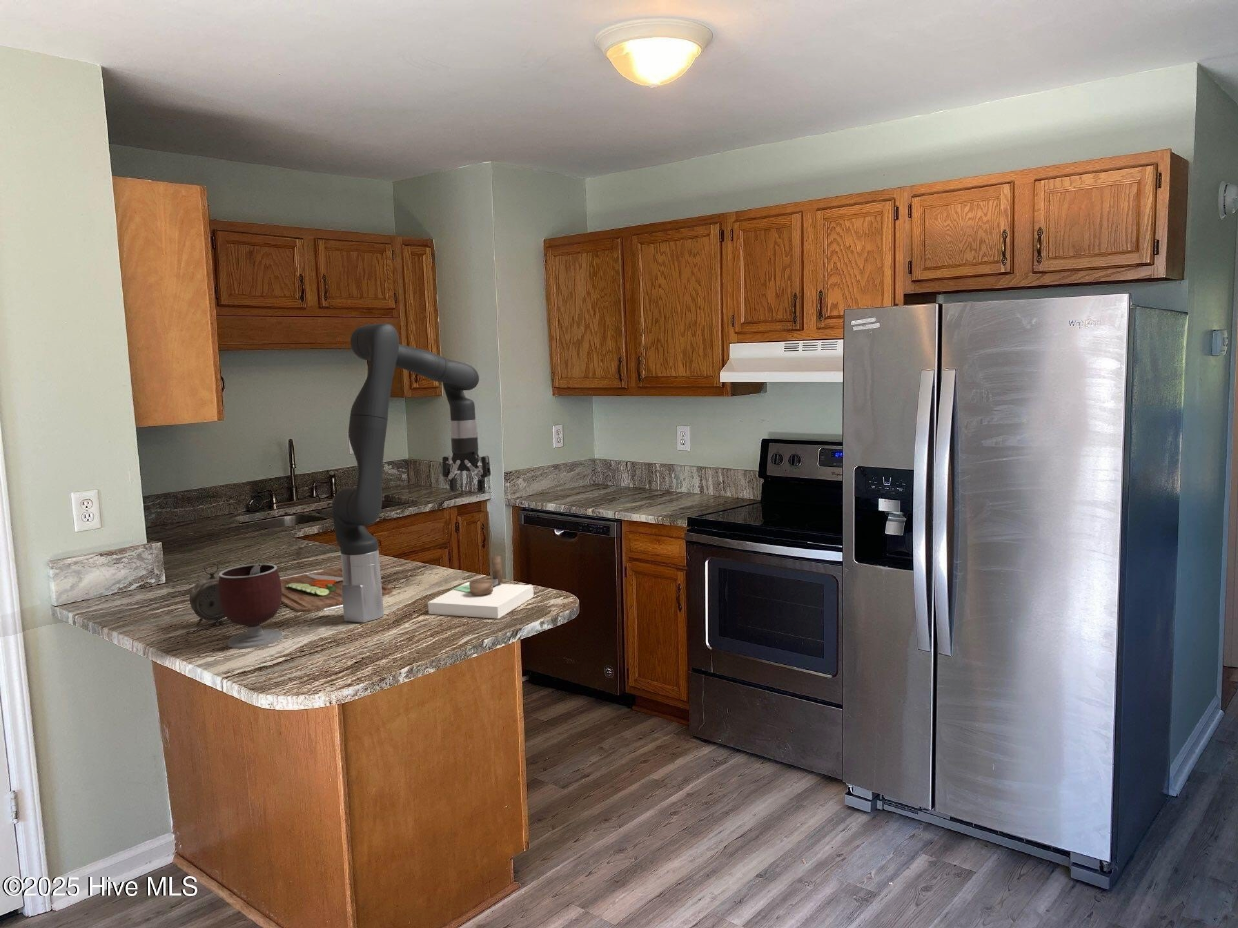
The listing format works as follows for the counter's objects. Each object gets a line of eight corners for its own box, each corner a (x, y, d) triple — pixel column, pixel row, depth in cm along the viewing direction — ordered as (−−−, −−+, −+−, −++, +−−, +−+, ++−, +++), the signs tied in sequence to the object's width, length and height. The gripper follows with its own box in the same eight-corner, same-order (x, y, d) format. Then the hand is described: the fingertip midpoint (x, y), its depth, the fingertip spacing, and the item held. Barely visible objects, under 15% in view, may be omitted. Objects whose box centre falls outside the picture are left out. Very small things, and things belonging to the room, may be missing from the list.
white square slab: (498, 618, 225) (497, 605, 224) (428, 613, 232) (427, 601, 231) (533, 596, 243) (532, 584, 243) (468, 592, 250) (467, 580, 250)
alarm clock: (237, 616, 237) (231, 556, 235) (241, 621, 233) (235, 560, 231) (192, 625, 231) (185, 563, 229) (195, 630, 227) (188, 567, 225)
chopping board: (251, 586, 271) (250, 576, 271) (338, 569, 287) (337, 560, 287) (304, 617, 236) (303, 606, 235) (399, 596, 252) (399, 585, 252)
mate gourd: (216, 640, 218) (207, 559, 215) (274, 627, 227) (266, 548, 224) (237, 655, 206) (227, 569, 203) (297, 640, 215) (289, 558, 212)
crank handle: (486, 595, 233) (484, 568, 232) (465, 594, 235) (463, 567, 234) (510, 581, 245) (508, 556, 244) (490, 580, 247) (488, 555, 247)
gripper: (435, 437, 257) (439, 493, 259) (480, 436, 253) (483, 494, 255) (448, 434, 264) (452, 489, 266) (492, 434, 260) (495, 490, 262)
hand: (467, 491), depth 261 cm, fingers open, 8 cm apart
